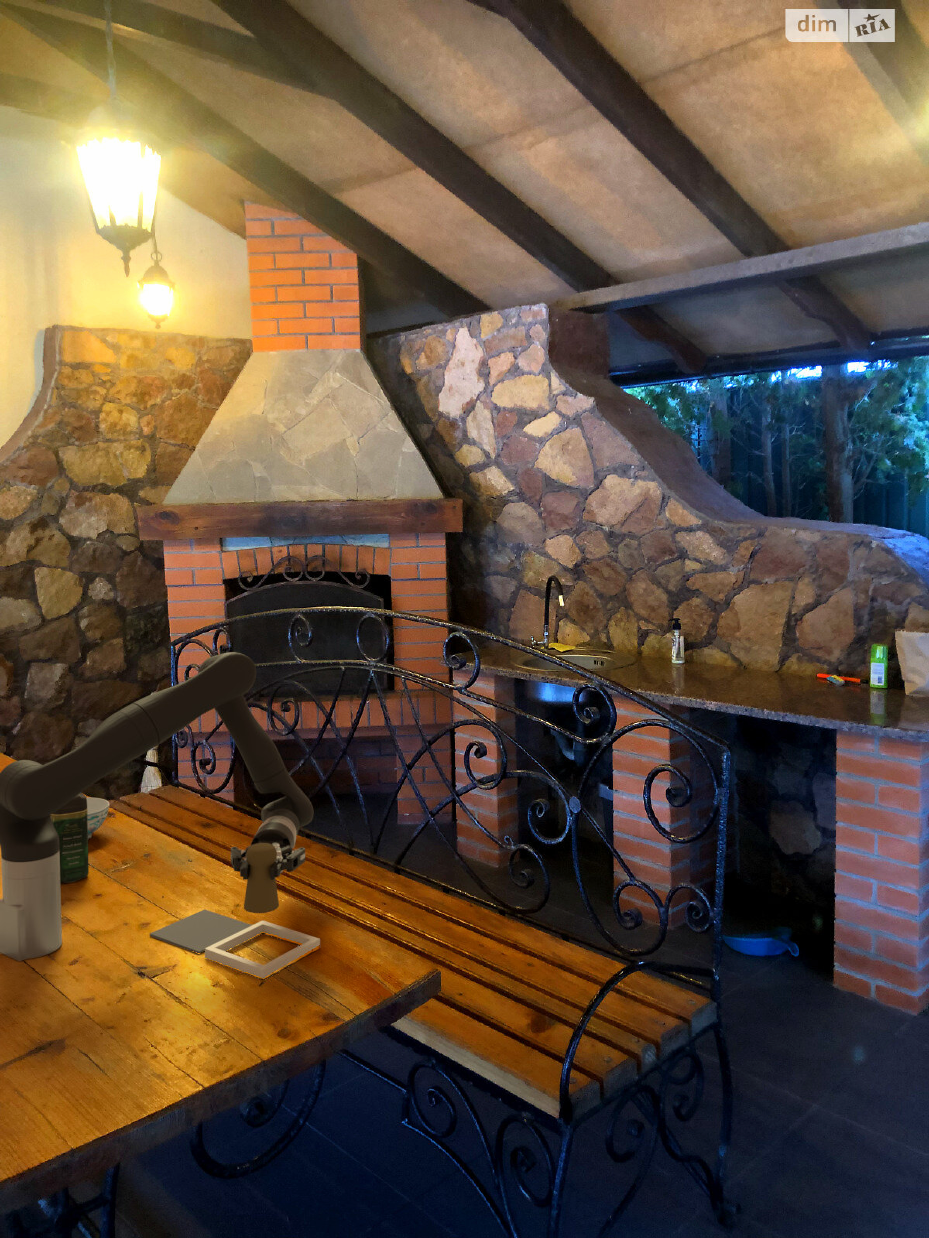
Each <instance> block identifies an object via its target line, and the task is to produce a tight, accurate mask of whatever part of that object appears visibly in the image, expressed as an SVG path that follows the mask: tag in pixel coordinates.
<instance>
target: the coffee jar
mask: <svg viewBox="0 0 929 1238" xmlns="http://www.w3.org/2000/svg"><path fill="white" fill-rule="evenodd" d="M86 797H87V796H86V795H85V794H84V793H83V792H81V793H80V794H78V795H77V796H76V797H74V798H73V799H72V800H70V801H69V802H68V803H66V804H65V805H64V806H62V807H61V808H60V809H58V810H57V811H55V812H54V813H52V814H51V820H52V823H53V826H54V828H55V830H56V832H57V834H58V836H59V854H60V883H67V884H68V883H75V882H77V881H79V880H82V879H86V878H87V877H88V876H89V873H90V872H89V870H90V869H89V867H90V866H89V865H90V863H89V839H88V820H87V810H88V808H87V798H86Z"/></svg>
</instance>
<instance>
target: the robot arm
mask: <svg viewBox="0 0 929 1238" xmlns="http://www.w3.org/2000/svg"><path fill="white" fill-rule="evenodd" d="M256 678H257V667H256V664H255V663H254V661H253V659H251V658H250V657H249V656H247V655H245V654H244V653H240V652H236V651H232V652H223V653H221V654H216V655H212V656H210V657H208V658H207V659H205V660H204V661H203V662H202V663H201V665H200V667H199V670H198V673H196V674H195V675H193V676H192V677H191V678H189V679H187V680H185V681H183V682H181V683H179V684H176V685H173V686H170V687H167V688H165V689H162V690H159V691H157V692H154V693H151V694H150V695H147V696H145V697H143V698H141V699H139V700H137V701H134V702H132V703H131V704H129V705H127V706H125V707H123V708H122V709H120V710H118V711H117V712H114V713H113V714H112V715H110V716H109V717H107V718H106V719H104V720H103V722H101V723H100V724H99V725H98V726H97V728H95V730H94V731H93V732H92V733H91V735H89V737H88V738H87V739H86V740H84V741H83V742H82V743H81V744H80V745H79V746H78V747H76V748H74V749H73V750H71V751H69V752H68V753H66V754H64V755H62V756H59V757H58V758H56V759H53V760H51V761H50V762H47V763H45V764H41V763H39V762H37V761H35V760H34V761H33V760H29V759H21V760H16V761H13V762H11V763H9V764H7V766H5V767H4V768H3V769H2V770H1V771H0V854H1V858H0V859H1V883H2V884H1V885H2V886H1V889H2V890H1V891H2V898H0V954H2V955H4V956H7V957H9V958H11V959H13V960H16V961H18V962H21V961H24V960H27V959H34V958H35V959H36V958H39V957H43V956H46V955H48V954H51V953H53V952H54V951H57V950H58V949H59V948H61V946H62V944H63V936H62V935H63V930H62V929H63V928H62V902H61V901H62V898H61V894H62V893H61V882H60V854H59V836H58V834H57V832H56V830H55V828H54V826H53V823H52V820H51V814H52V813H54V812H55V811H57V810H58V809H60V808H61V807H62V806H64V805H65V804H66V803H68V802H69V801H70V800H72V799H73V798H74V797H76V796H77V795H78V794H80V793H83V792H84V791H85V790H86V789H88V788H89V787H90V786H92V785H94V784H95V783H96V782H98V781H100V780H101V779H102V778H104V777H107V776H108V775H110V774H112V773H113V772H115V771H117V770H118V769H120V768H122V767H123V766H124V765H126V764H128V763H130V762H131V761H133V760H136V759H137V758H139V757H140V756H142V755H144V754H146V753H147V752H149V751H151V750H152V749H154V748H156V747H157V746H159V745H160V744H162V743H164V742H165V741H167V740H168V739H170V738H171V737H172V736H174V735H176V734H177V733H179V732H180V731H181V730H183V729H184V728H186V727H187V726H188V725H190V724H191V723H193V722H194V721H196V720H197V719H199V718H200V717H202V716H203V715H204V714H207V713H208V712H210V711H212V710H215V712H216V713H217V715H218V716H219V717H220V720H221V721H222V723H223V724H224V726H225V727H226V729H227V731H228V732H229V735H230V736H231V739H232V740H233V742H234V743H235V745H236V747H237V749H238V751H239V753H240V755H241V757H242V759H243V762H244V764H245V766H246V768H247V770H248V773H249V775H250V778H251V779H252V781H253V784H254V786H255V788H256V790H257V791H258V792H259V793H260V794H270V793H281V794H282V795H284V796H283V797H280V798H279V799H276V800H274V801H272V802H269V803H267V804H266V805H265V806H263V807H262V809H261V811H260V818H261V822H262V824H261V825H260V826H259V827H258V829H257V831H256V833H255V835H254V836H253V838H252V840H251V843H250V845H248V846H247V847H246V848H245V849H241V848H238V847H237V846H232V847H230V862H231V865H232V868H233V871H234V872H239V876H240V877H241V878H242V880H244V881H245V880H248V877H249V867H250V864H249V863H248V862H247V858H246V853H247V850H248V849H249V847H250V846H252V845H254V844H257V843H269V844H272V845H273V846H274V847H275V848H276V851H277V858H276V860H275V862H274V863H273V864H272V866H271V870H270V879H271V880H275V879H277V878H279V877H280V876H281V873H283V871H286V872H287V873H288V872H289V873H292V872H293V871H295V870H296V869H297V868H299V867H301V865H303V864H304V863H305V862H306V848H305V847H299V848H297V849H294V848H295V846H296V840H297V835H298V834H299V831H300V830H299V829H300V828H302V827H304V826H306V825H308V824H311V822H312V821H313V818H314V807H313V803H312V802H311V801H310V799H309V798H308V796H307V795H306V794H305V792H304V791H303V790H302V789H301V788H300V787H299V786H298V785H297V784H296V782H295V781H294V779H293V778H292V776H291V775H290V774H289V771H288V769H287V768H286V766H285V763H284V761H283V759H282V757H281V754H280V752H279V750H278V748H277V746H276V744H275V743H274V741H273V740H272V738H271V737H270V736H269V734H268V733H267V731H265V730H264V728H263V727H262V726H261V724H260V723H259V721H258V720H257V719H256V717H255V716H254V715H253V713H252V711H251V710H250V708H249V706H248V704H247V702H246V700H245V696H244V695H245V694H246V693H248V692H249V691H250V690H251V689H252V687H253V685H254V684H255V681H256ZM293 849H294V850H293Z"/></svg>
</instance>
